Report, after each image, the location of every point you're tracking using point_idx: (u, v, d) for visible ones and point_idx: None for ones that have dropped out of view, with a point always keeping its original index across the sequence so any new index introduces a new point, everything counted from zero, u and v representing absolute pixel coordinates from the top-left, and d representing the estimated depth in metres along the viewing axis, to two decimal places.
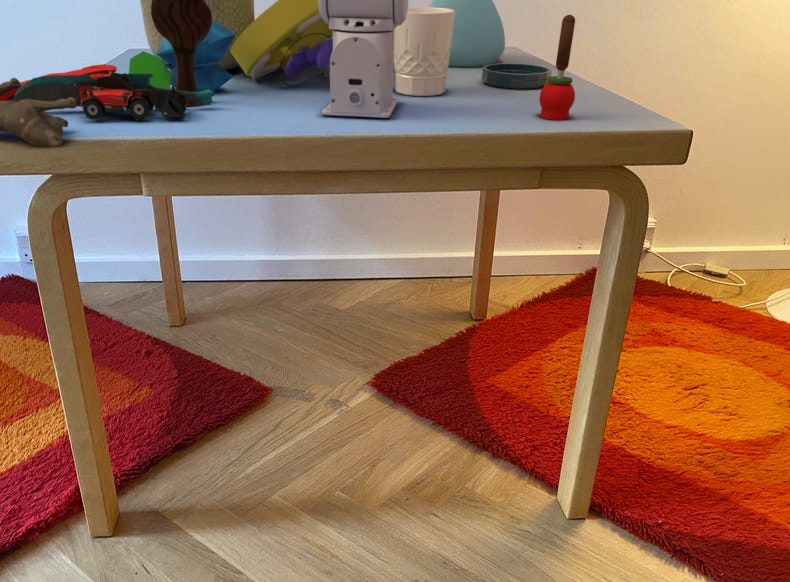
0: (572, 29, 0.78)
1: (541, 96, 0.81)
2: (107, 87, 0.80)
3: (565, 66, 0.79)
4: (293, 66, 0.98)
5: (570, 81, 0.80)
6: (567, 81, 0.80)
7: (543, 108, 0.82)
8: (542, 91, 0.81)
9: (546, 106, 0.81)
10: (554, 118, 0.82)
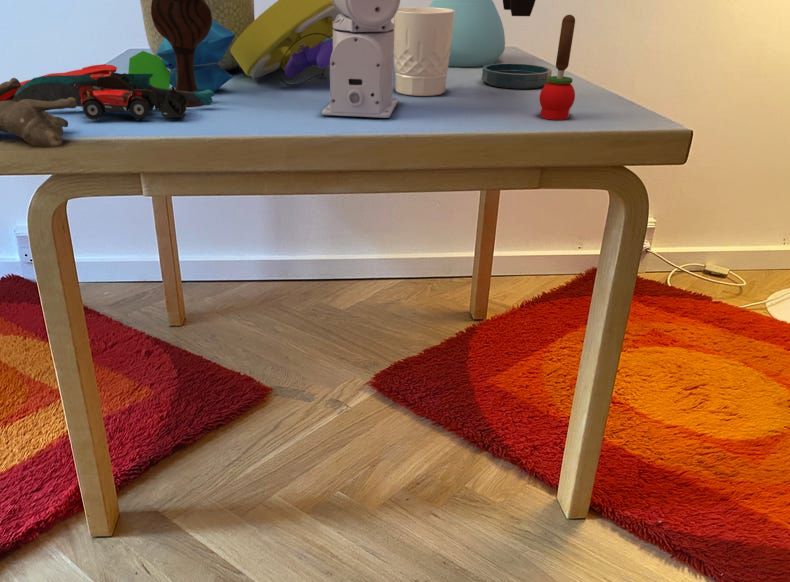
0: (572, 29, 0.78)
1: (541, 96, 0.81)
2: (107, 87, 0.80)
3: (565, 66, 0.79)
4: (293, 66, 0.98)
5: (570, 81, 0.80)
6: (567, 81, 0.80)
7: (543, 108, 0.82)
8: (542, 91, 0.81)
9: (546, 106, 0.81)
10: (554, 118, 0.82)
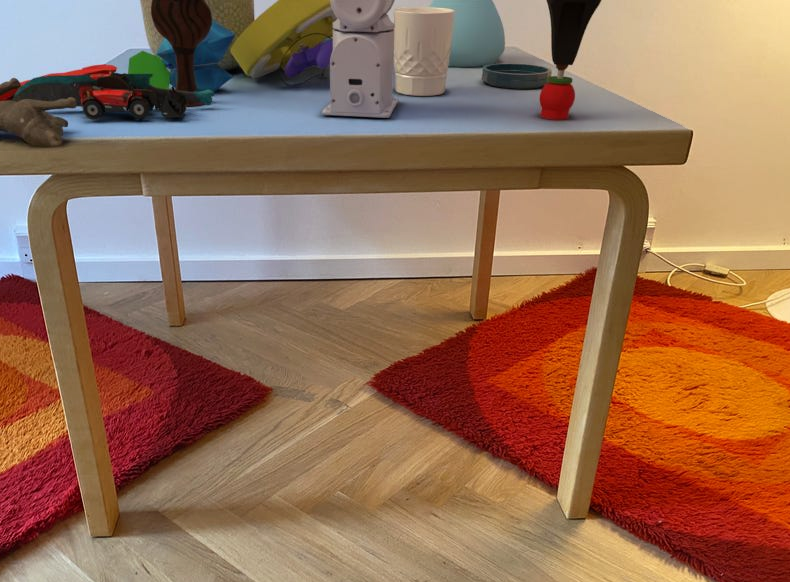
0: None
1: (541, 96, 0.81)
2: (107, 87, 0.80)
3: (565, 66, 0.79)
4: (293, 66, 0.98)
5: (570, 81, 0.80)
6: (567, 81, 0.80)
7: (543, 108, 0.82)
8: (542, 91, 0.81)
9: (546, 106, 0.81)
10: (554, 118, 0.82)
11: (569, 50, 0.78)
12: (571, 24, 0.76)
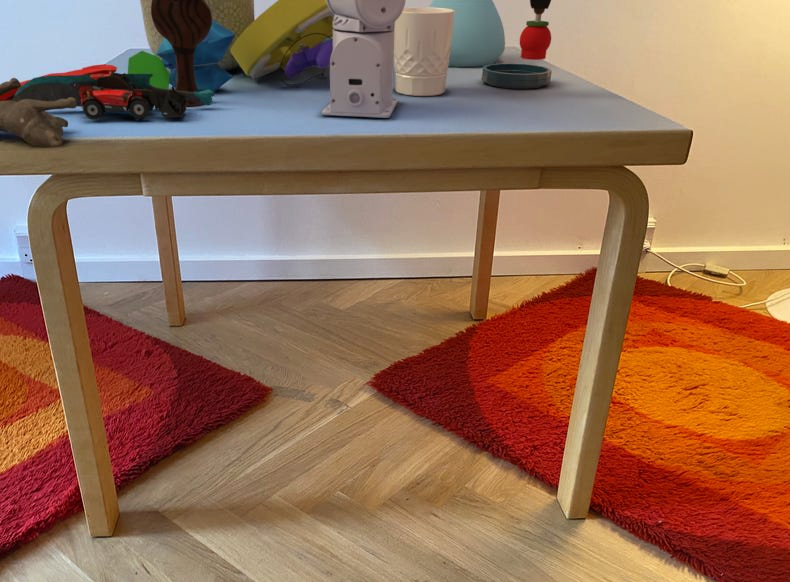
0: None
1: (521, 38, 0.91)
2: (107, 87, 0.80)
3: (542, 10, 0.89)
4: (293, 66, 0.98)
5: (546, 24, 0.89)
6: (544, 24, 0.89)
7: (523, 49, 0.91)
8: (522, 34, 0.91)
9: (525, 47, 0.90)
10: (532, 58, 0.91)
11: None
12: None
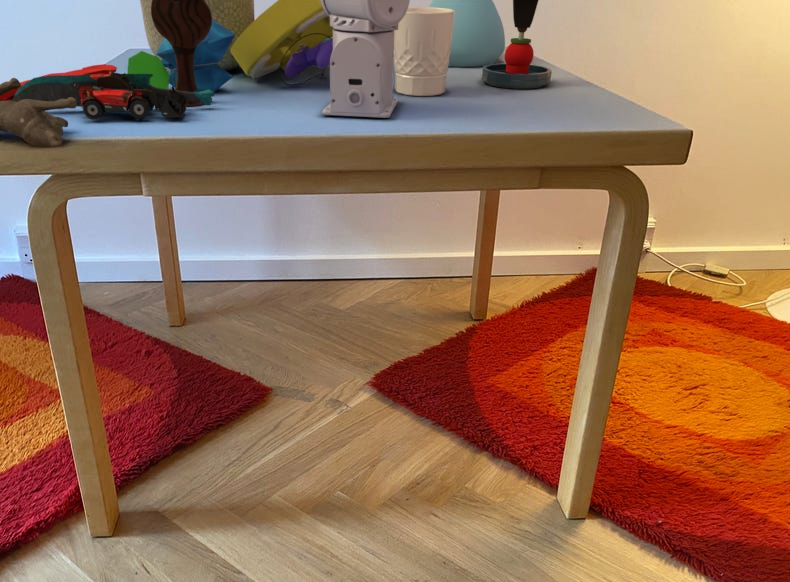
0: None
1: (505, 54, 0.99)
2: (107, 87, 0.80)
3: (524, 29, 0.97)
4: (293, 66, 0.98)
5: (529, 41, 0.97)
6: (526, 41, 0.97)
7: (507, 64, 0.99)
8: (506, 50, 0.99)
9: (510, 62, 0.99)
10: (516, 72, 0.99)
11: (527, 15, 0.95)
12: None
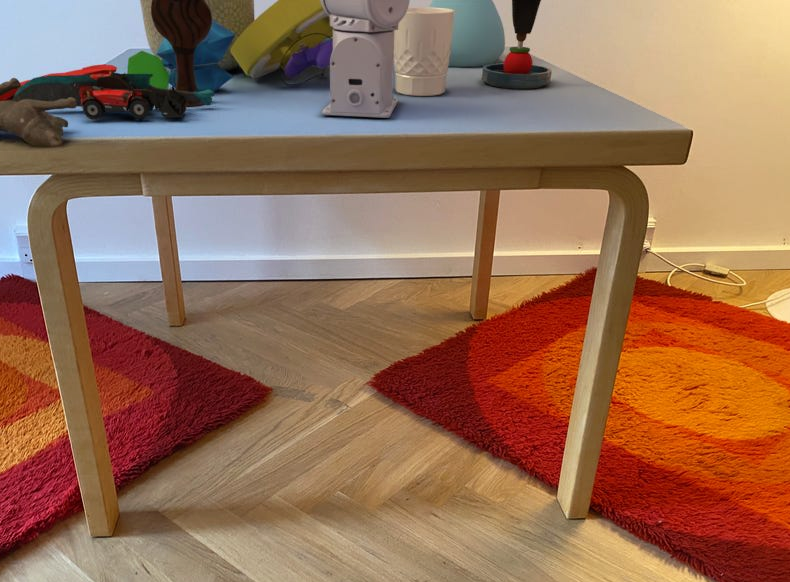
0: None
1: (505, 63, 0.99)
2: (107, 87, 0.80)
3: (523, 38, 0.98)
4: (293, 66, 0.98)
5: (528, 50, 0.98)
6: (525, 50, 0.98)
7: None
8: (505, 59, 0.99)
9: (509, 71, 0.99)
10: None
11: (527, 21, 0.93)
12: None
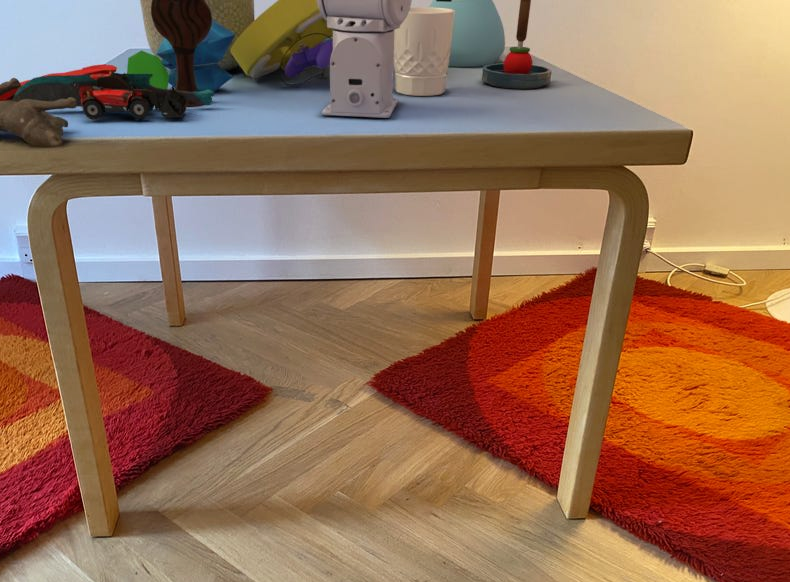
0: (528, 7, 0.96)
1: (505, 63, 0.99)
2: (107, 87, 0.80)
3: (523, 38, 0.98)
4: (293, 66, 0.98)
5: (528, 50, 0.98)
6: (525, 50, 0.98)
7: None
8: (505, 59, 0.99)
9: (509, 71, 0.99)
10: None
11: None
12: None
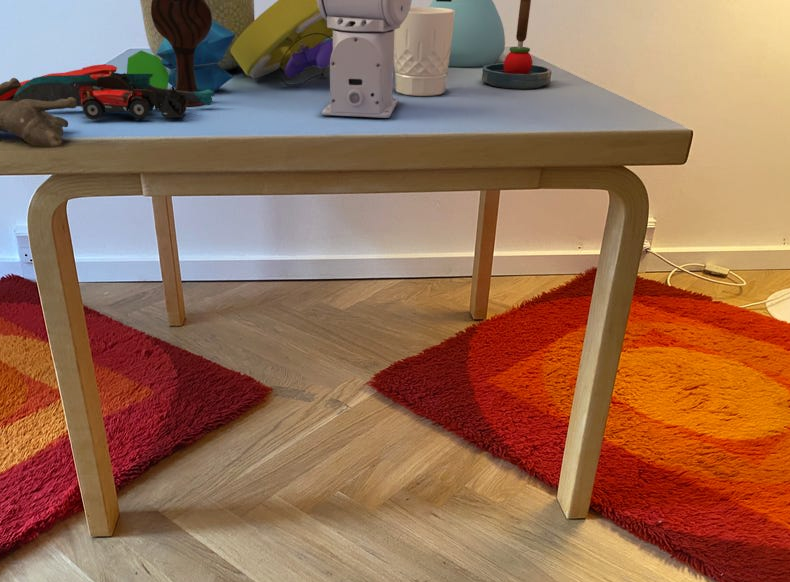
0: (528, 7, 0.96)
1: (505, 63, 0.99)
2: (107, 87, 0.80)
3: (523, 38, 0.98)
4: (293, 66, 0.98)
5: (528, 50, 0.98)
6: (525, 50, 0.98)
7: None
8: (505, 59, 0.99)
9: (509, 71, 0.99)
10: None
11: None
12: None
